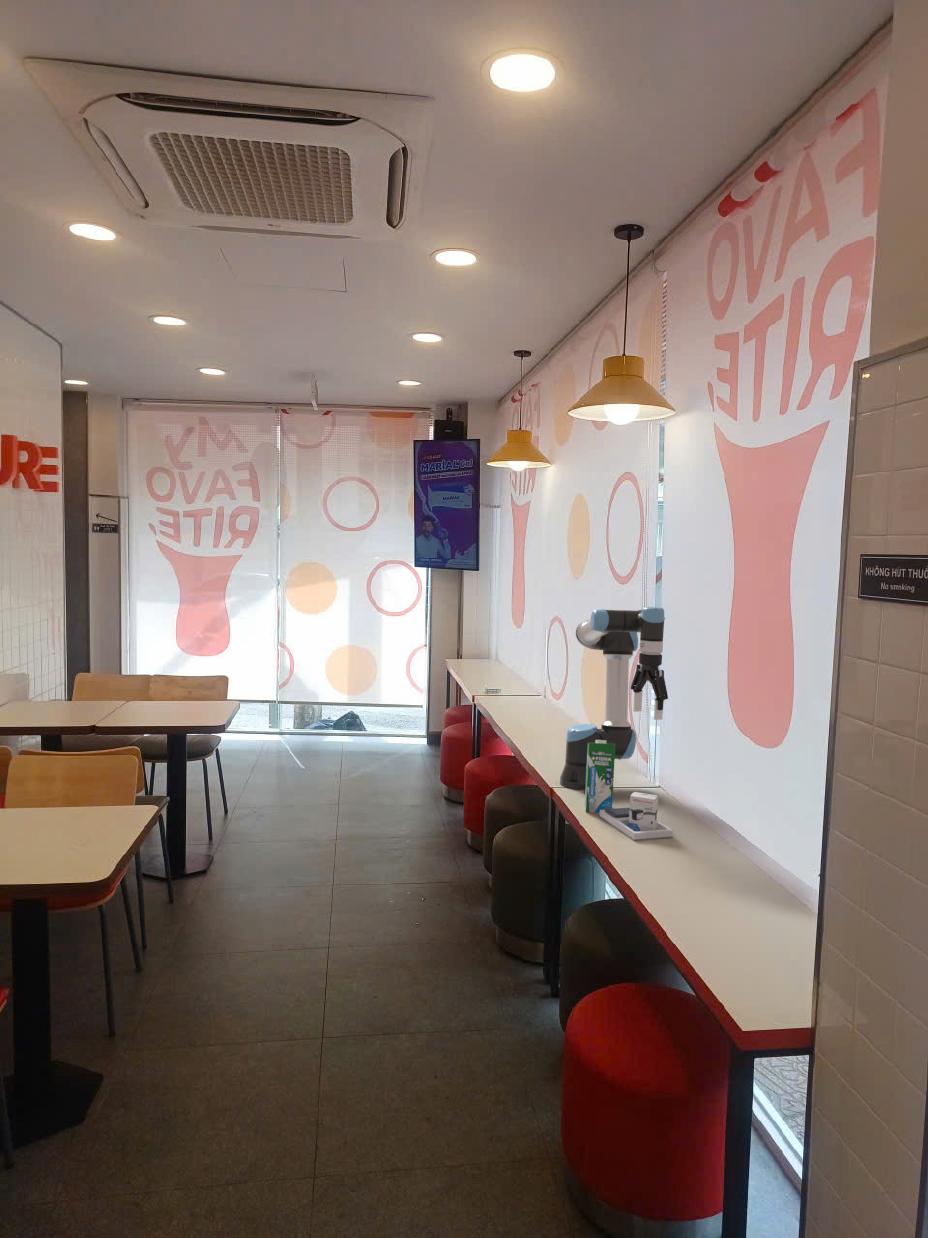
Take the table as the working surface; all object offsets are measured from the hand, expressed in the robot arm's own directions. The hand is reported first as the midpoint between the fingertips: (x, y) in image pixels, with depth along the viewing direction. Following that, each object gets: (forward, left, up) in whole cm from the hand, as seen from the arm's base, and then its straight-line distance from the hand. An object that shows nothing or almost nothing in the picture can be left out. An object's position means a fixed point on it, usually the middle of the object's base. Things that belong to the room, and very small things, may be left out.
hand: (647, 715), depth 280 cm
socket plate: (+5, -6, -37) cm, 37 cm away
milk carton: (-15, -9, -37) cm, 41 cm away
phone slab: (-2, -6, -34) cm, 35 cm away
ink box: (+10, -5, -36) cm, 38 cm away
